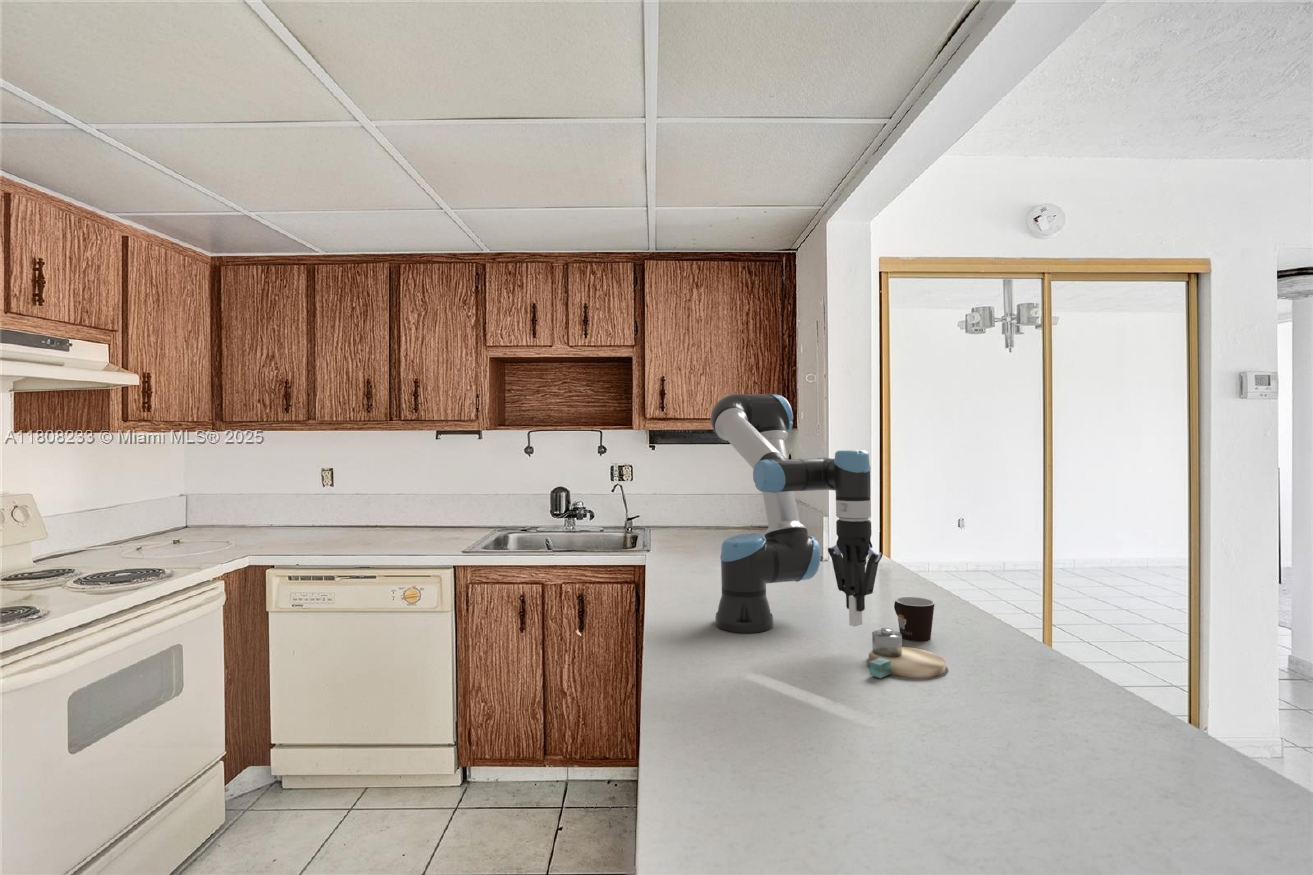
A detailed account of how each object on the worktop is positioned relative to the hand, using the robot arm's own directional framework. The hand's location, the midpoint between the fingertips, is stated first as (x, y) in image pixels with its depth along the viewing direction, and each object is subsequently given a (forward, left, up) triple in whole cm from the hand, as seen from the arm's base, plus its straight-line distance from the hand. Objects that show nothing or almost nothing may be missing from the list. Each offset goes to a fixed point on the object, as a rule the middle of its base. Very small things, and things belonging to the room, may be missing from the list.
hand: (855, 624), depth 145 cm
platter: (+12, -2, -6) cm, 14 cm away
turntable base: (+12, 0, -7) cm, 14 cm away
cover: (+8, 0, -4) cm, 9 cm away
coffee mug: (+2, +20, -8) cm, 22 cm away
